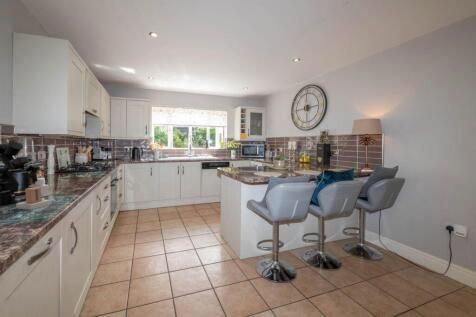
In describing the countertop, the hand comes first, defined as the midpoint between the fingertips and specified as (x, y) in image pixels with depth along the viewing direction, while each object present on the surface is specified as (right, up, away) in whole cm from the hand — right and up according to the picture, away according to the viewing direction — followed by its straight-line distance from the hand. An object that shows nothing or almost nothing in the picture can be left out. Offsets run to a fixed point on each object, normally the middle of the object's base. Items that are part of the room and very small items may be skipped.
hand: (27, 182), depth 122 cm
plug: (+4, -13, 0) cm, 13 cm away
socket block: (+4, -13, 0) cm, 13 cm away
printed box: (-12, -11, +21) cm, 27 cm away
